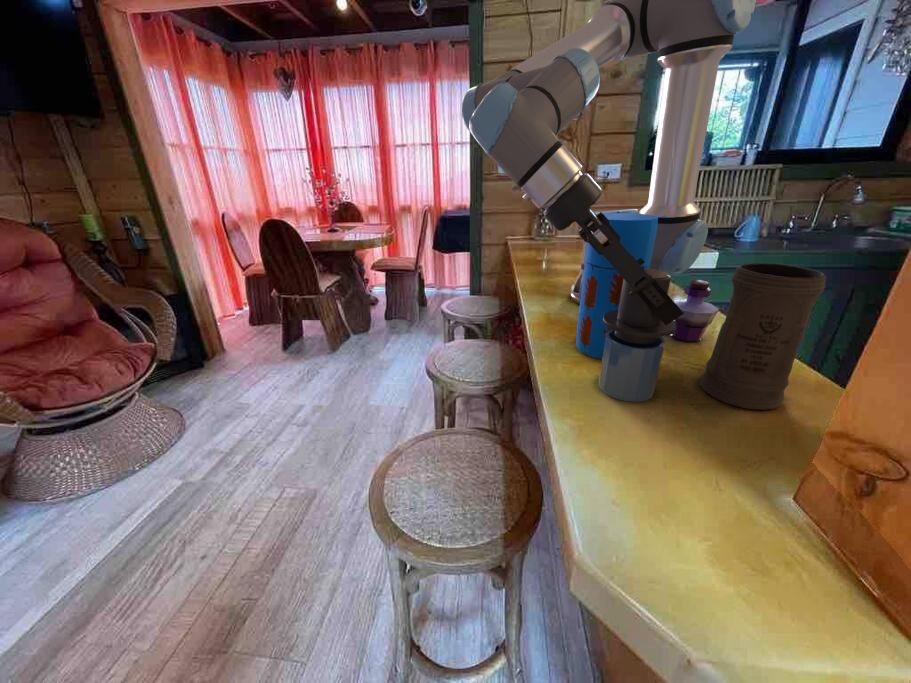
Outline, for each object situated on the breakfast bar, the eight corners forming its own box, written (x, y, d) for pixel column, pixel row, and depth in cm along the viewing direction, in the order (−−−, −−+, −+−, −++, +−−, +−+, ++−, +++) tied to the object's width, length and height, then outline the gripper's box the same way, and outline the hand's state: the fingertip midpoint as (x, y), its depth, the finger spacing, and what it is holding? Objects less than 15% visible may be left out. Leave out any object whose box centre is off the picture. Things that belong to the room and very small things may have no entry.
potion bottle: (708, 333, 80) (724, 278, 75) (711, 349, 73) (728, 289, 68) (663, 326, 84) (675, 274, 79) (661, 341, 77) (674, 284, 72)
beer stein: (797, 419, 52) (851, 277, 45) (708, 405, 56) (746, 271, 49) (757, 374, 66) (794, 259, 59) (687, 365, 69) (715, 256, 62)
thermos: (638, 362, 69) (667, 220, 58) (577, 357, 71) (595, 220, 60) (626, 338, 78) (649, 213, 68) (573, 335, 81) (587, 213, 70)
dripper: (612, 319, 64) (622, 261, 59) (679, 332, 58) (694, 270, 54) (591, 339, 57) (599, 275, 52) (663, 356, 51) (680, 287, 47)
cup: (608, 370, 66) (616, 323, 62) (658, 385, 61) (670, 335, 58) (591, 390, 60) (598, 340, 57) (645, 408, 56) (657, 354, 52)
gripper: (543, 205, 61) (633, 305, 65) (538, 220, 45) (660, 354, 48) (580, 169, 58) (673, 276, 61) (590, 170, 41) (718, 317, 44)
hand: (667, 310), depth 54 cm, fingers closed on dripper, 6 cm apart
